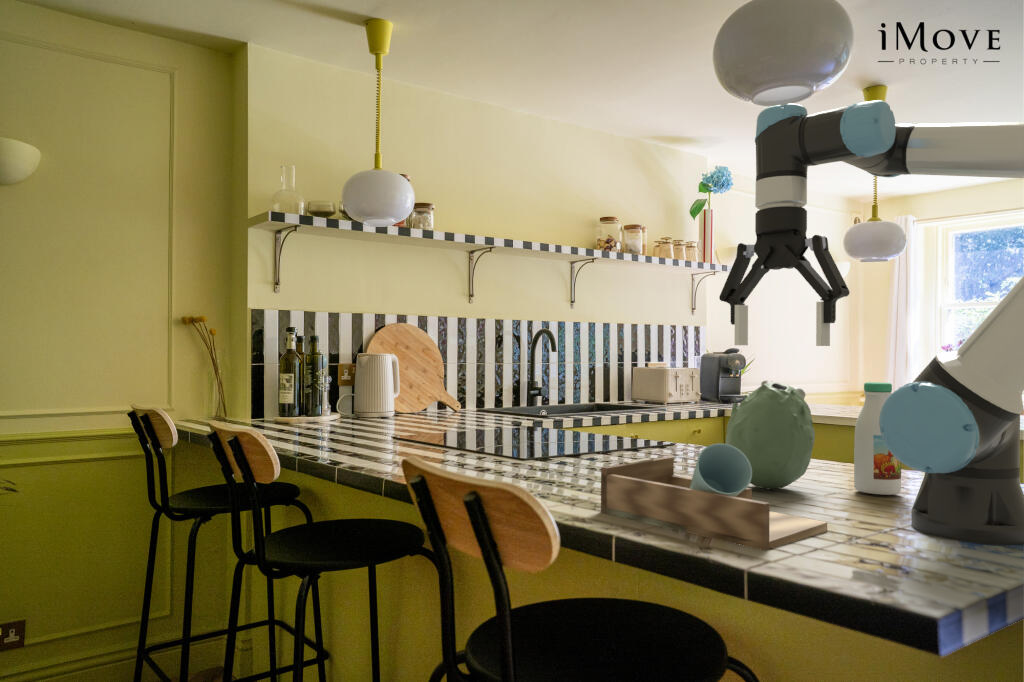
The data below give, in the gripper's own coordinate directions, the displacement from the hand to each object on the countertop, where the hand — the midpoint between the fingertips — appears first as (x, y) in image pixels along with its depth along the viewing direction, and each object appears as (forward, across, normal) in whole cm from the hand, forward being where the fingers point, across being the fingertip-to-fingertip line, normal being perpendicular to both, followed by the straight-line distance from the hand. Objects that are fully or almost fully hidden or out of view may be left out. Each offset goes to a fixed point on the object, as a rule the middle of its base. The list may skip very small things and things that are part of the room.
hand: (780, 345), depth 113 cm
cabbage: (+27, +14, -21) cm, 37 cm away
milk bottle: (+27, -1, -33) cm, 43 cm away
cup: (+26, +3, +13) cm, 29 cm away
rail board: (+27, +5, +12) cm, 29 cm away
